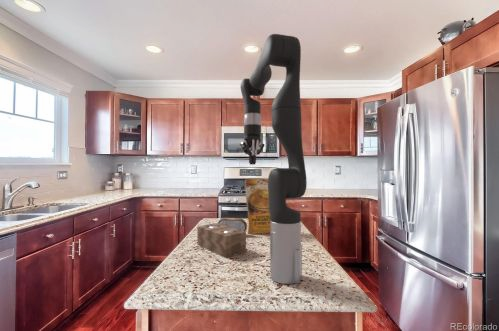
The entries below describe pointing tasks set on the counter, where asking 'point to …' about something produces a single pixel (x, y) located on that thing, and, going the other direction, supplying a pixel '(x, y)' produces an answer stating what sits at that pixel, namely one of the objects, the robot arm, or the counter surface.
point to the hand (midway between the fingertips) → (252, 164)
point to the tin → (234, 223)
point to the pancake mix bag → (257, 206)
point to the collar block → (221, 240)
